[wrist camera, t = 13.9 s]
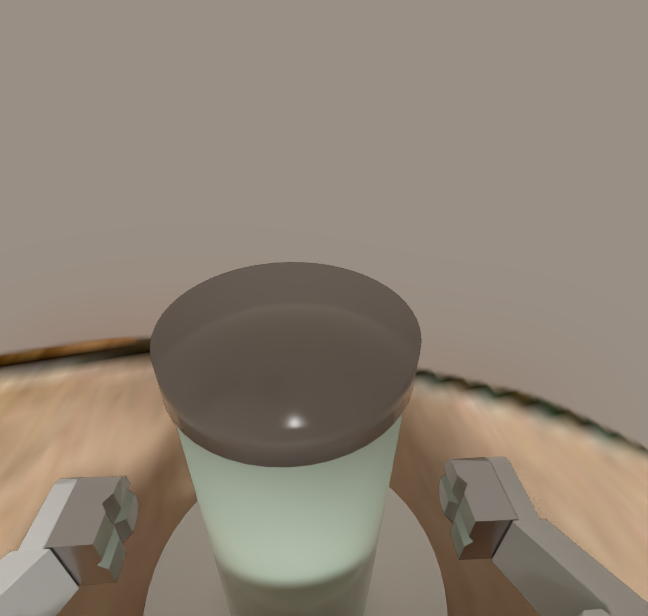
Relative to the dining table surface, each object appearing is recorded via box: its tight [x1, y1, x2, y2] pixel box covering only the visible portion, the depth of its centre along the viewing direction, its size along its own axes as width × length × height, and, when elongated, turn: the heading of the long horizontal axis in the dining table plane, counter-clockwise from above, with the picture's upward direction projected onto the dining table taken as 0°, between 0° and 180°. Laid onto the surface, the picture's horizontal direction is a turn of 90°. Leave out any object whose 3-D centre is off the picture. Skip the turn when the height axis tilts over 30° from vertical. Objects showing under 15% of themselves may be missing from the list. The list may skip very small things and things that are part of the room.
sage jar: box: [150, 262, 421, 616], centre depth 12 cm, size 5×5×12 cm
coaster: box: [143, 487, 448, 616], centre depth 15 cm, size 11×11×1 cm
